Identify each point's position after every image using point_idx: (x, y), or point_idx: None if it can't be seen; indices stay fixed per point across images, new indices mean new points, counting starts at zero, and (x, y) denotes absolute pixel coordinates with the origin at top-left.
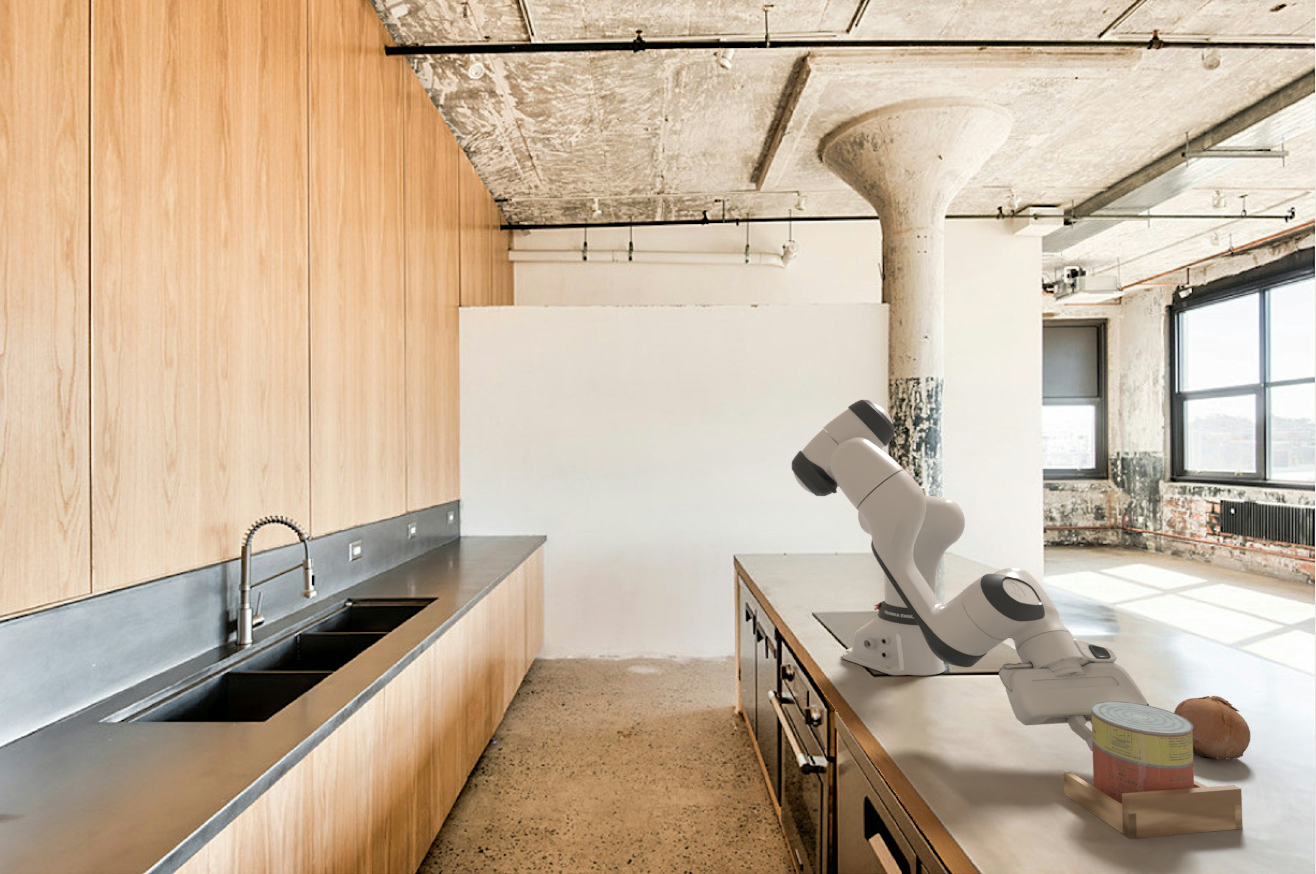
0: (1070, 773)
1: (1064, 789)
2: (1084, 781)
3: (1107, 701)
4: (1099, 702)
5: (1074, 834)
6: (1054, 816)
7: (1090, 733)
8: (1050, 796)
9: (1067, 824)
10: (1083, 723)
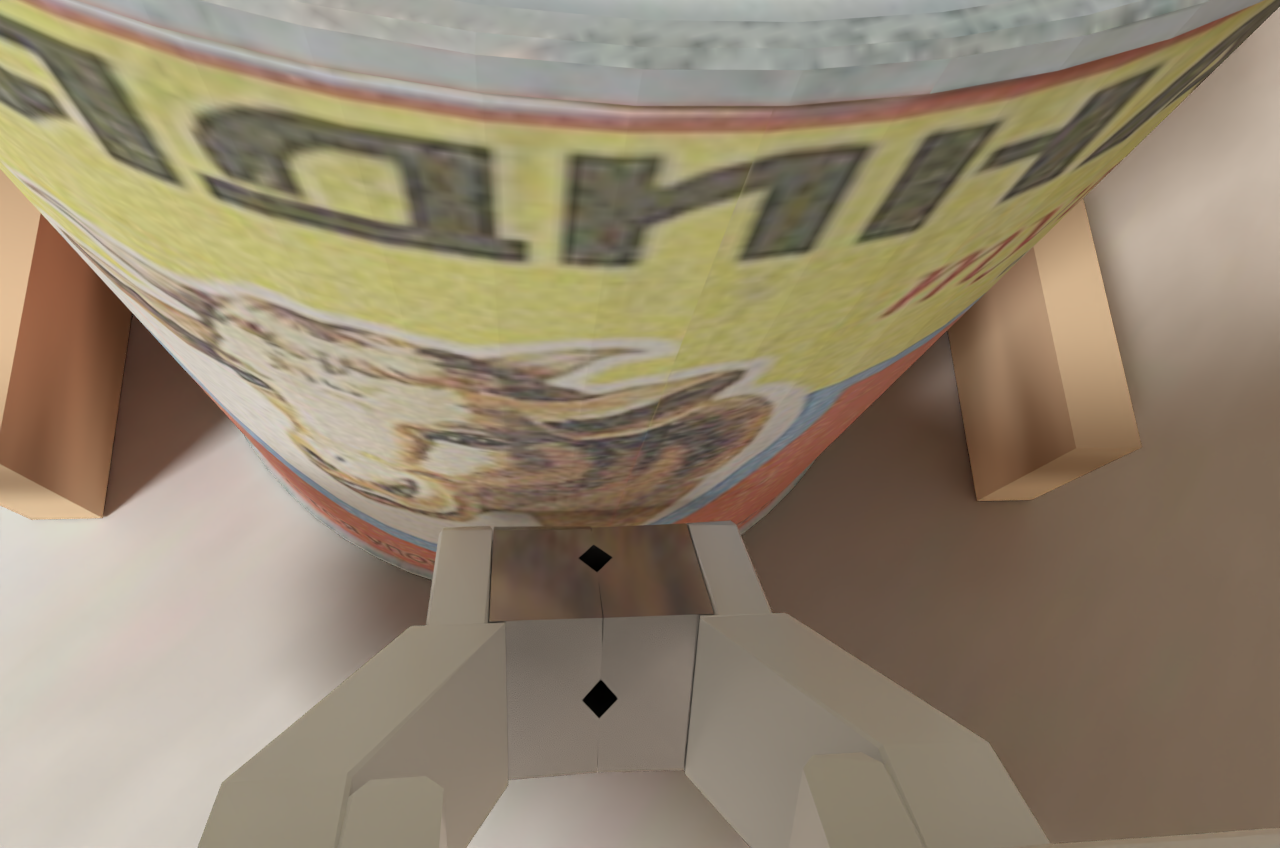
0: (1093, 416)
1: (1050, 490)
2: (1049, 268)
3: (661, 25)
4: (1043, 22)
5: (1215, 75)
6: (1243, 247)
7: (786, 622)
8: (1151, 484)
9: (1206, 162)
10: (878, 751)
